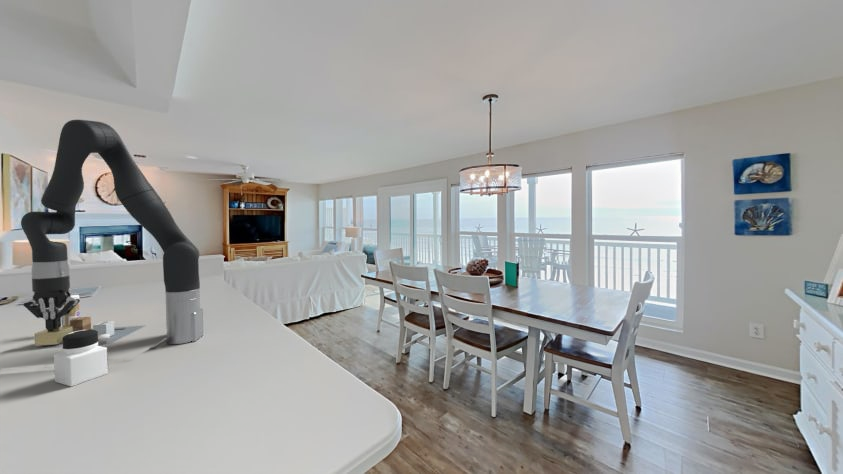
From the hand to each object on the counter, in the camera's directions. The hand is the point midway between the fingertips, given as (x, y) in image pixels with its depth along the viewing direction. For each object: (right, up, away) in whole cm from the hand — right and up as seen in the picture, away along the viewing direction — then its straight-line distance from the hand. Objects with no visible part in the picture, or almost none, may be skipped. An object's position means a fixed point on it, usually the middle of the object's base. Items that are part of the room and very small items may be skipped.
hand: (53, 330), depth 96 cm
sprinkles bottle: (-11, -6, +14) cm, 19 cm away
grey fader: (+10, -4, +6) cm, 12 cm away
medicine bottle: (+29, -7, -18) cm, 35 cm away
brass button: (0, -4, 0) cm, 4 cm away
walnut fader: (-3, -4, +11) cm, 12 cm away
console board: (+6, -6, +7) cm, 11 cm away
